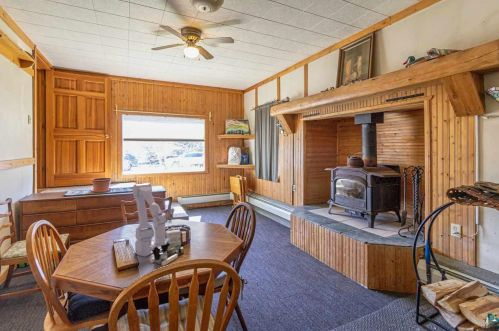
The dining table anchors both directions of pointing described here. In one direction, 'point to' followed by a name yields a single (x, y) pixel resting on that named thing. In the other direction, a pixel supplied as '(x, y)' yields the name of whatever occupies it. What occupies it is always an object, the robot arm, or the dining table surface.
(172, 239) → the ink box
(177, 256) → the guide rails
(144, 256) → the robot arm
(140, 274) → the dining table surface
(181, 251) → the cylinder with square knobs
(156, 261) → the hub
